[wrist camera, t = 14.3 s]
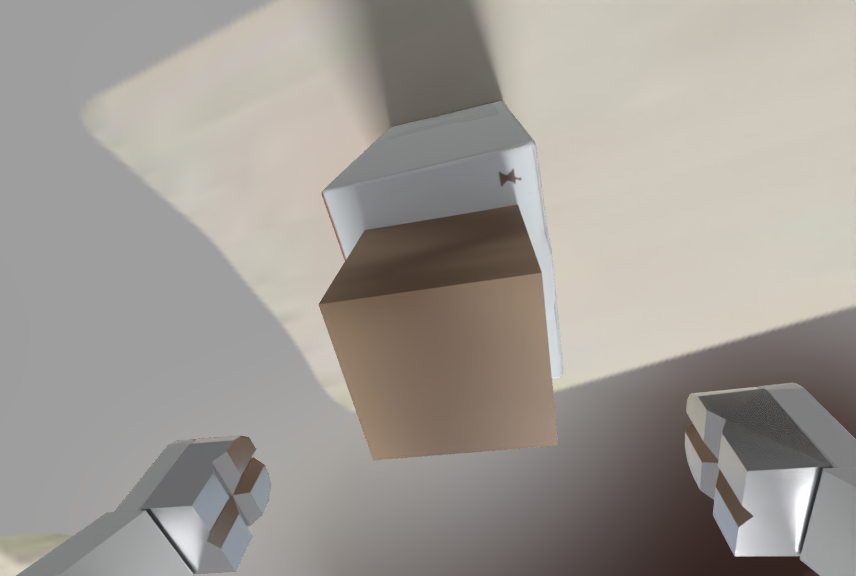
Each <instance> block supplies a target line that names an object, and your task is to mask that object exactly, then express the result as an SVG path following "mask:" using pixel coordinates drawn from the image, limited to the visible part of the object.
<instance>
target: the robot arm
mask: <svg viewBox="0 0 856 576" xmlns="http://www.w3.org/2000/svg"><path fill="white" fill-rule="evenodd" d="M686 412H687V414H688V415H689V417H690V419H691V421H692V422H693V424H692V425H691V427H689V428H688V429H687V431H685V449H686V454H687V460H688V464H689V466H690V469H691V472H692V474H693V477H694V479H695V481H696V483H697V485H698V487H699V489H700V490H701V491H702V492H704V493H705V494H707V495H708V496H709V497H711V498H712V499H714V509H713V516H714V518H715V520H716V522H717V524H718V526H719V527H720V529H721V531H722V533H723V535H724V537H725V539H726V541H727V543H728V544H729V546H730V548H731V550H732V552H733V554H734V556H800V560H801V561H803V562H804V563H805V564H806V565H808V566H809V567H810V568H811V569H813V570H814V571H815V572H816V573H818V574H819V575H820V576H856V439H855V438H854V437H853V436H852V435H851V434H849V432H848V431H847V430H846V429H845V428H844V427H843V426H842V425H841V424H840V423H838V421H836V420H835V419H834V418H833V417H832V416H831V415H830V414H829V413H828V412H827V411H826V410H825V409H824V408H823V407H822V406H821V405H820V404H819V403H818V402H817V401H816V400H815V399H814V398H813V397H812V396H811V395H810V394H809V393H808V392H807V391H806V390H805V389H804V388H803V387H802V386H800V385H798V384H795V383H787V384H777V385H768V386H758V387H757V388H755V387H751V388H741V389H732V390H722V391H712V392H702V393H693V394H690V395H689V397H688V400H687V409H686ZM255 451H256V448H255V446H254V445H253V443H252V442H251V440H250V439H249V437H245V436H229V437H214V438H199V439H194V440H193V439H192V440H177V441H175V442H173V443H171V444H169V445H168V446H167V447H166V448H165V449H164V451H163V452H162V453H161V454H160V456H159V457H158V458H157V459H156V460H155V462H154V463H153V464H152V466H151V467H150V468H149V469H148V470H147V472H146V473H145V474H144V475H143V477H142V478H141V479H140V481H139V482H138V483H137V484H136V485H135V487H134V488H133V489H132V490H131V492H130V493H129V494H128V495H127V496H126V498H125V499H124V500H123V501H122V503H121V504H120V505H119V506H118V508H117V509H116V510H115V511H114V512H110V513H106V514H104V515H103V516H101V517H100V518H99V519H97V520H96V521H94V522H93V523H91V524H90V525H88V526H87V527H85V528H84V529H83V530H81V531H80V532H78V533H77V534H75V535H74V536H73V537H71V538H70V539H68V540H67V541H65V542H64V543H62V544H61V545H60V546H58V547H57V548H55V549H54V550H52V551H51V552H49V553H48V554H47V555H45V556H44V557H42V558H41V559H39V560H38V561H37V562H35V563H34V564H32V565H31V566H29V567H28V568H26V569H25V570H24V571H22V572H21V573H19V574H18V575H16V576H194V574H205V573H221V572H235V571H236V570H237V568H238V566H239V564H240V562H241V560H242V558H243V555H244V553H245V551H246V549H247V547H248V545H249V543H250V541H251V539H252V531H251V525H252V524H253V523H254V522H255V521H256V520H257V519H258V518H259V517H261V516H262V515H263V513H264V510H265V508H266V506H267V504H268V501H269V496H270V489H271V482H270V477H269V473H268V471H267V469H266V467H265V465H264V464H262V463H261V462H259V461H258V460H256V459H255V458H253V457H254V454H255Z"/></svg>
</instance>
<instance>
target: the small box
mask: <svg viewBox="0 0 856 576" xmlns="http://www.w3.org/2000/svg"><path fill="white" fill-rule="evenodd" d="M322 196H323V199H324V202H325V205H326V208H327V211H328V214H329V217H330V220H331V222H332V225H333V228H334V231H335V234H336V236H337V239H338V242H339V245H340V248H341V251H342V254H343V257H344V260H345V261H346V259H347V258H348V256H349V254H350V253H351V251H352V250H353V248H354V246H355V245H356V243H357V242H358V240H359V238H360V237H361V235H362V233H363V232H364V230H369V229H375V228H381V227H387V226H393V225H399V224H405V223H411V222H417V221H424V220H430V219H436V218H442V217H448V216H454V215H459V214H465V213H471V212H477V211H483V210H489V209H495V208H501V207H507V206H513V205H518V206H519V209H520V212H521V215H522V218H523V220H524V223H525V226H526V229H527V232H528V235H529V237H530V240H531V243H532V246H533V249H534V252H535V255H536V257H537V260H538V263H539V266H540V269H541V272H542V279H543V290H544V301H545V311H546V322H547V333H548V343H549V354H550V365H551V375H552V378H559V377H561V375H562V374H563V362H562V351H561V341H560V331H559V322H558V311H557V301H556V291H555V276H554V267H553V260H552V249H551V243H550V239H549V235H548V229H547V223H546V216H545V209H544V201H543V194H542V186H541V178H540V171H539V165H538V158H537V151H536V145H535V142H534V140H533V139H532V138H531V136H530V135H529V134H528V133H527V131H526V130H525V129H524V128H523V126H522V125H521V124H520V122H519V121H518V120H517V119H516V117H515V116H514V115H513V114H512V113H511V112H510V110H509V109H508V108H507V106H506V105H505V103H504V102H503V101H498V102H494V103H490V104H486V105H481V106H477V107H473V108H469V109H465V110H461V111H457V112H452V113H448V114H444V115H440V116H436V117H432V118H427V119H423V120H419V121H414V122H410V123H406V124H402V125H398V126H394V127H391V128H390V129H388V130H387V131H386V132H385V133H384V134H383V135H382V136H381V137H379V138H378V139H377V140H376V141H375V142H374V143H373V144H372V145H371V146H370V147H369V148H368V149H367V150H366V151H364V153H362V154H361V155H360V156H359V157H358V158H357V159H356V160H355V161H353V162H352V163H351V164H350V165H349V166H348V167H347V168H346V169H345V170H344V171H343V172H342V173H341V174H340V175H339V176H338V177H337V178H335V179H334V180H333V181H332V182H331V183H330V184H329V185H328V186H327V187H326V188H325V189H324V190H323V191H322Z"/></svg>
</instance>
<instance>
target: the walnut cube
mask: <svg viewBox="0 0 856 576" xmlns="http://www.w3.org/2000/svg"><path fill="white" fill-rule="evenodd" d="M319 307H320V310H321V313H322V315H323V318H324V321H325V324H326V327H327V330H328V332H329V335H330V338H331V341H332V344H333V347H334V350H335V352H336V355H337V358H338V361H339V364H340V367H341V369H342V372H343V375H344V378H345V381H346V384H347V387H348V389H349V392H350V395H351V398H352V401H353V404H354V406H355V409H356V412H357V415H358V418H359V421H360V424H361V426H362V429H363V432H364V435H365V438H366V441H367V443H368V446H369V449H370V452H371V454H372V458H373V460H381V459H394V458H407V457H419V456H431V455H443V454H456V453H470V452H482V451H495V450H507V449H520V448H532V447H544V446H556V445H558V439H557V429H556V418H555V407H554V396H553V386H552V375H551V365H550V354H549V343H548V333H547V322H546V311H545V301H544V290H543V279H542V272H541V269H540V266H539V263H538V260H537V257H536V255H535V252H534V249H533V246H532V243H531V240H530V237H529V235H528V232H527V229H526V226H525V223H524V220H523V218H522V215H521V212H520V209H519V206H518V205H513V206H507V207H501V208H495V209H489V210H483V211H477V212H471V213H465V214H459V215H454V216H448V217H442V218H436V219H430V220H424V221H417V222H411V223H405V224H399V225H393V226H387V227H381V228H375V229H369V230H364V232H363V233H362V235H361V237H360V238H359V240H358V242H357V243H356V245H355V246H354V248H353V250H352V251H351V253H350V254H349V256H348V258H347V259H346V261H345V263H344V264H343V266H342V267H341V269H340V271H339V272H338V274H337V276H336V277H335V279H334V280H333V282H332V284H331V285H330V287H329V288H328V290H327V292H326V293H325V295H324V297H323V298H322V300H321V301H320V303H319Z"/></svg>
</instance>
